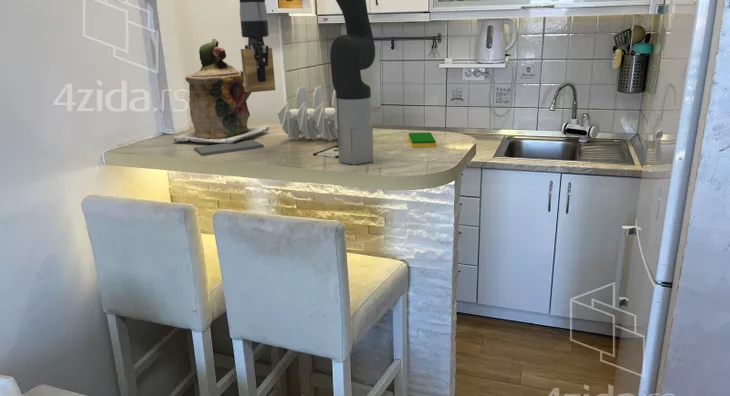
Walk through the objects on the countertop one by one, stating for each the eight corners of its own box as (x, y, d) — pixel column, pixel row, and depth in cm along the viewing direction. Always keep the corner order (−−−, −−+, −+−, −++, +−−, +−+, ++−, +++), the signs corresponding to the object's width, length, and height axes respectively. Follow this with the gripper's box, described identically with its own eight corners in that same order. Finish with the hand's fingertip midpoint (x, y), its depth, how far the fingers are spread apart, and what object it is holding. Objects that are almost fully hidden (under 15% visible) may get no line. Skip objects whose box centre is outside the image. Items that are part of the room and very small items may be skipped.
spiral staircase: (296, 148, 186) (366, 147, 179) (273, 135, 170) (349, 133, 162) (300, 96, 189) (369, 93, 181) (277, 78, 172) (353, 74, 165)
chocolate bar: (371, 144, 168) (338, 156, 153) (371, 147, 168) (339, 160, 154) (346, 141, 173) (313, 153, 158) (347, 144, 173) (313, 156, 158)
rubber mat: (263, 147, 170) (263, 144, 170) (202, 155, 161) (202, 153, 161) (253, 142, 178) (253, 139, 178) (194, 149, 169) (194, 147, 169)
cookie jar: (169, 142, 179) (155, 40, 170) (212, 129, 202) (202, 39, 192) (235, 144, 171) (224, 37, 162) (272, 130, 194) (264, 36, 185)
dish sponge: (430, 139, 177) (430, 132, 177) (435, 148, 164) (436, 140, 163) (408, 140, 177) (408, 132, 177) (412, 149, 164) (412, 141, 163)
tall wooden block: (275, 90, 161) (272, 47, 158) (249, 92, 158) (245, 49, 154) (270, 89, 165) (267, 47, 161) (244, 91, 161) (240, 49, 157)
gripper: (275, 18, 151) (280, 82, 156) (258, 19, 163) (263, 78, 168) (249, 19, 147) (255, 84, 153) (233, 20, 159) (239, 80, 164)
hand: (259, 81), depth 160 cm, fingers closed on tall wooden block, 4 cm apart
